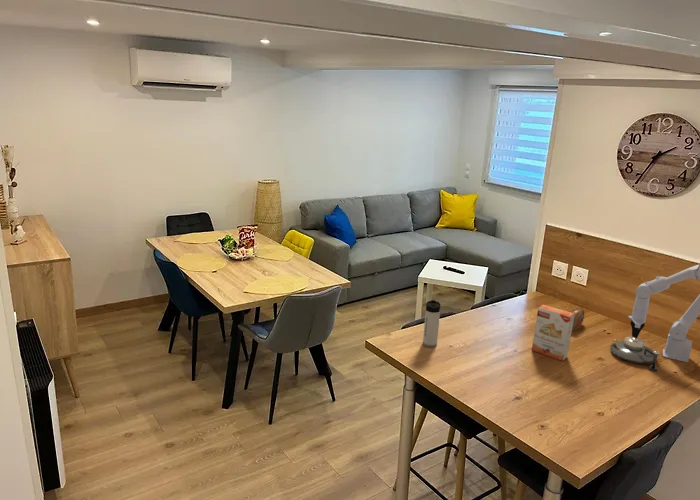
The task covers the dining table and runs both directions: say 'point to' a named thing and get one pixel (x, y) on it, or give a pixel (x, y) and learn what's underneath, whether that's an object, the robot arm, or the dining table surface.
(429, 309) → the travel mug
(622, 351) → the disc
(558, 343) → the cracker box
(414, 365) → the dining table surface
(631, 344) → the cover
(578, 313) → the tin
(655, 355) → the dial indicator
